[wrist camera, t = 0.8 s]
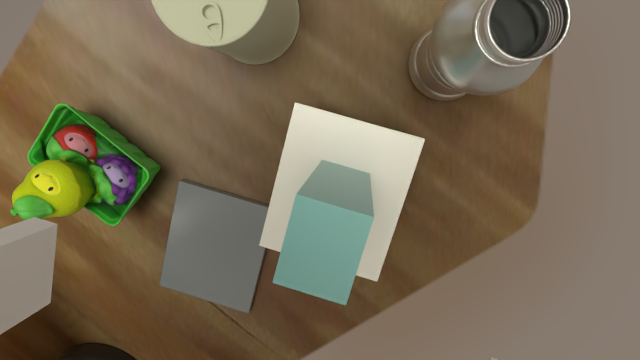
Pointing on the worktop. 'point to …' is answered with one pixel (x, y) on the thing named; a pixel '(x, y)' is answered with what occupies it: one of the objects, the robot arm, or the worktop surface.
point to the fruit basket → (82, 170)
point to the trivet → (215, 246)
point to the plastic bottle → (486, 46)
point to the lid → (336, 200)
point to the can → (234, 25)
